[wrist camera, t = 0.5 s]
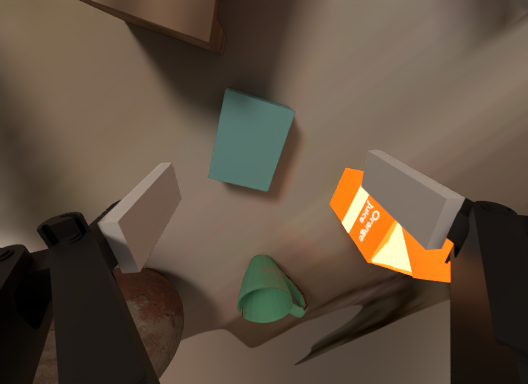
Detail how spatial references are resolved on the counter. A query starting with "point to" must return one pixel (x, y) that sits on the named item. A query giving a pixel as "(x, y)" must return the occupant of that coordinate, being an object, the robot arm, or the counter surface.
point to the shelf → (172, 19)
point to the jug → (136, 321)
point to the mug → (269, 293)
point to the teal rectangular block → (249, 139)
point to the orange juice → (385, 233)
